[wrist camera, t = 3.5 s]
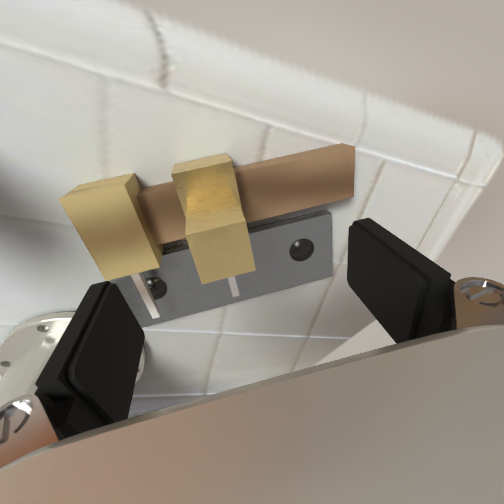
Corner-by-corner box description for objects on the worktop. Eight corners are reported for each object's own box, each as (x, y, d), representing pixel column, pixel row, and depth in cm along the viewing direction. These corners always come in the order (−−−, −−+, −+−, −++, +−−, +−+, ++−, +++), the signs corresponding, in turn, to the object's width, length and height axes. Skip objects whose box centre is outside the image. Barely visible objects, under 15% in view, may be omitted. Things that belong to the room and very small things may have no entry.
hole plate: (327, 270, 28) (332, 276, 27) (139, 321, 26) (137, 329, 25) (326, 209, 24) (331, 213, 23) (106, 264, 22) (103, 270, 21)
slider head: (251, 271, 25) (278, 345, 18) (211, 282, 25) (220, 362, 17) (226, 153, 20) (249, 184, 12) (174, 164, 19) (162, 204, 12)
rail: (341, 247, 26) (359, 264, 24) (133, 301, 25) (126, 327, 22) (342, 127, 21) (366, 130, 18) (71, 186, 19) (50, 201, 16)
